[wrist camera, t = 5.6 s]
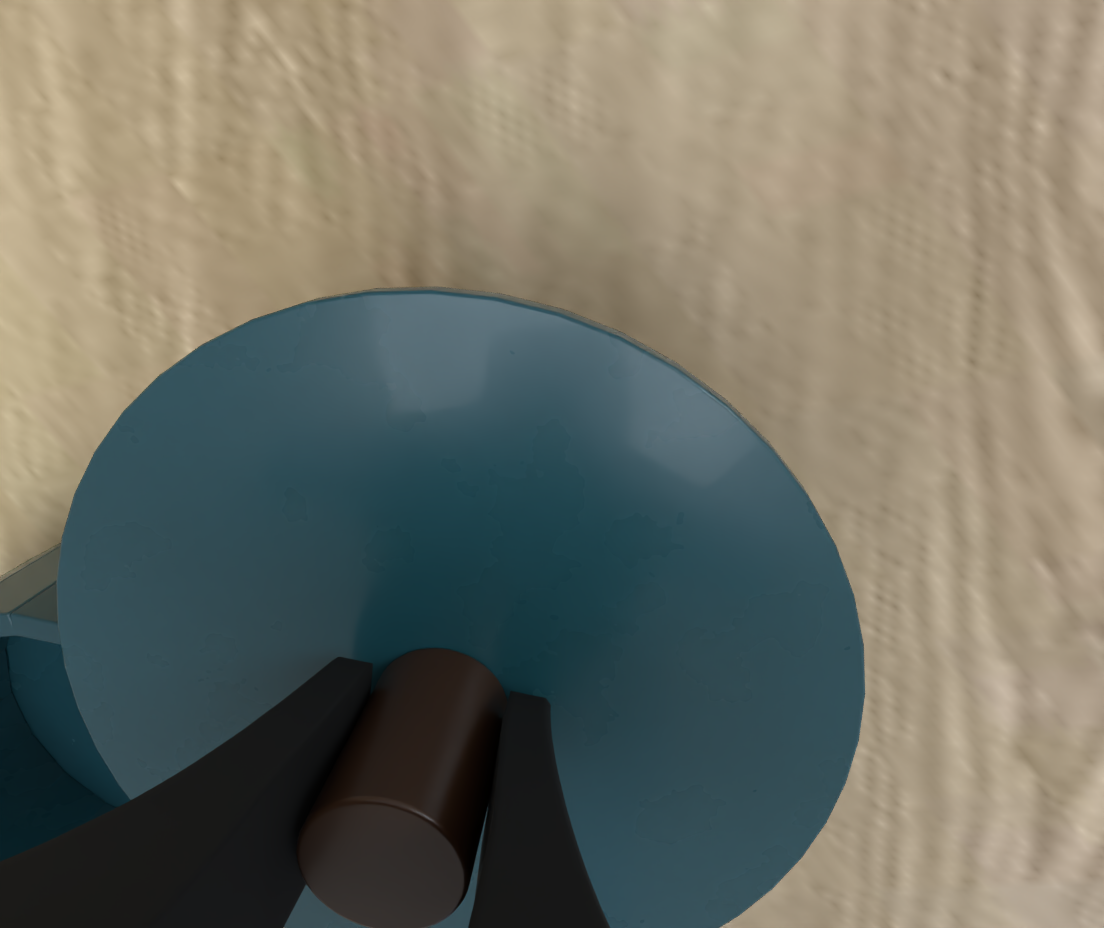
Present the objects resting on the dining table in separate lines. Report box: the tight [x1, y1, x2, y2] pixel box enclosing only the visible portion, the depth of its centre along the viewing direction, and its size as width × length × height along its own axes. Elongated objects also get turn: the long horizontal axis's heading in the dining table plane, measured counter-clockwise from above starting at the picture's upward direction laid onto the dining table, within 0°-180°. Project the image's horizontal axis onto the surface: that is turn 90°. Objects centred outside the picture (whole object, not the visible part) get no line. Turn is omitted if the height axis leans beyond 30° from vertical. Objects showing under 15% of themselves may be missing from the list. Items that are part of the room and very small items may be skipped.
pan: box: [0, 543, 130, 861], centre depth 23 cm, size 13×13×6 cm
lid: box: [56, 287, 865, 928], centre depth 12 cm, size 14×14×4 cm
